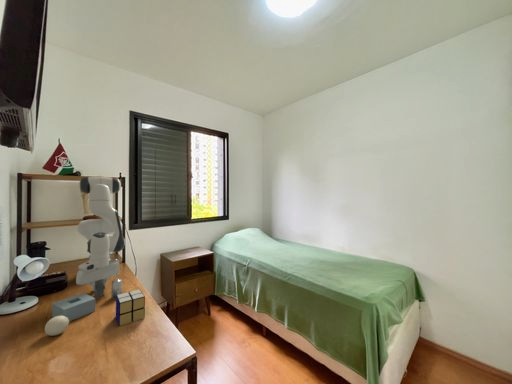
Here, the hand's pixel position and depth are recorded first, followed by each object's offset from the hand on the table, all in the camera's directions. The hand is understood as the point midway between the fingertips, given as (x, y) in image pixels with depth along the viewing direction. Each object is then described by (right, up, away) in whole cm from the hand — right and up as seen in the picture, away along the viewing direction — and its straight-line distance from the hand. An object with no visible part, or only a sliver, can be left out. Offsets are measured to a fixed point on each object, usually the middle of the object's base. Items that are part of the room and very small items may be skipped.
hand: (99, 287), depth 118 cm
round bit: (+11, -5, -1) cm, 12 cm away
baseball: (+7, -4, -33) cm, 34 cm away
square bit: (0, -5, 0) cm, 4 cm away
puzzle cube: (+30, -5, -21) cm, 37 cm away
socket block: (+2, -4, -18) cm, 19 cm away
